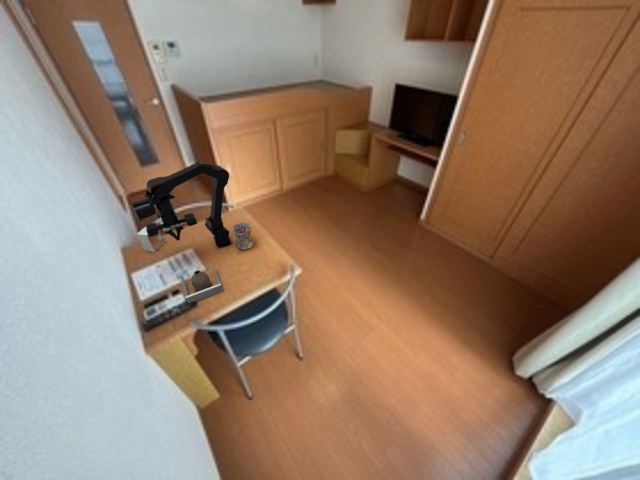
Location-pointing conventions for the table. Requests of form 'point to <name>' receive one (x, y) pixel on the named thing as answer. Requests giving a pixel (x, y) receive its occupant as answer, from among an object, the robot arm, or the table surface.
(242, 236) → the mug
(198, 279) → the vase
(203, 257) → the table surface
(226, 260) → the table surface
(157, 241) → the small box
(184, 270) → the table surface
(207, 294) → the bay
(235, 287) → the table surface
